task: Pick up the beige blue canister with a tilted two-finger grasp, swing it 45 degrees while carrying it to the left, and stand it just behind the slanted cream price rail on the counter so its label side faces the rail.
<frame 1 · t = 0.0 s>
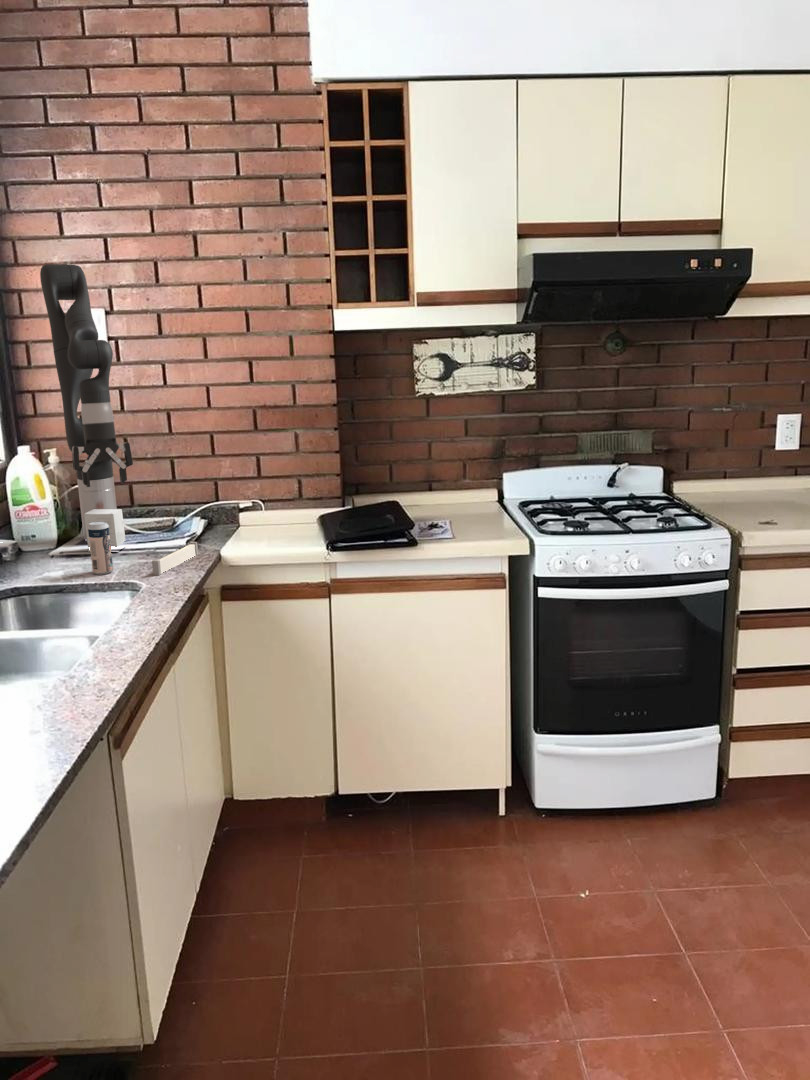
hand: (105, 485, 217), 17 cm above the worktop, tool pointing down, fingers open, 8 cm apart
price rail: (176, 564, 207), on the worktop
small box: (107, 551, 221), on the worktop
beige blue canister: (103, 573, 201), on the worktop
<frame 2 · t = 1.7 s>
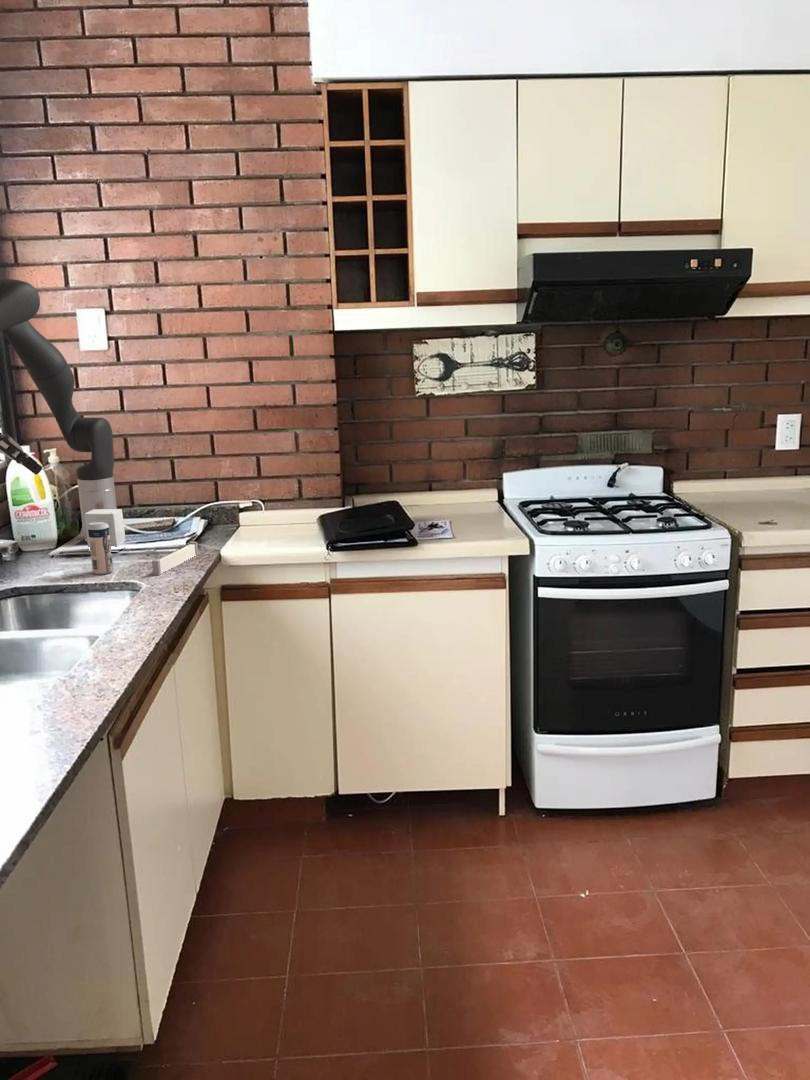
hand: (37, 468, 189), 26 cm above the worktop, tool tilted 45°, fingers open, 8 cm apart
nothing on the worktop moved.
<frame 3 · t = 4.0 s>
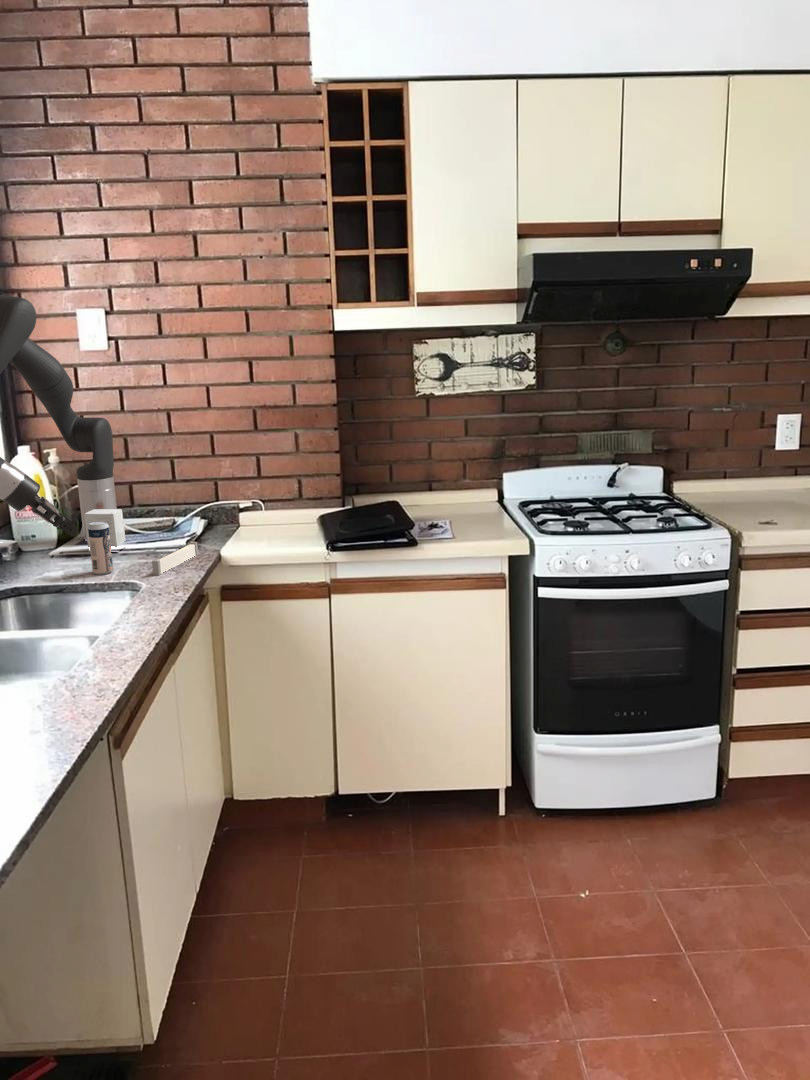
hand: (72, 529, 196), 11 cm above the worktop, tool tilted 45°, fingers open, 8 cm apart
nothing on the worktop moved.
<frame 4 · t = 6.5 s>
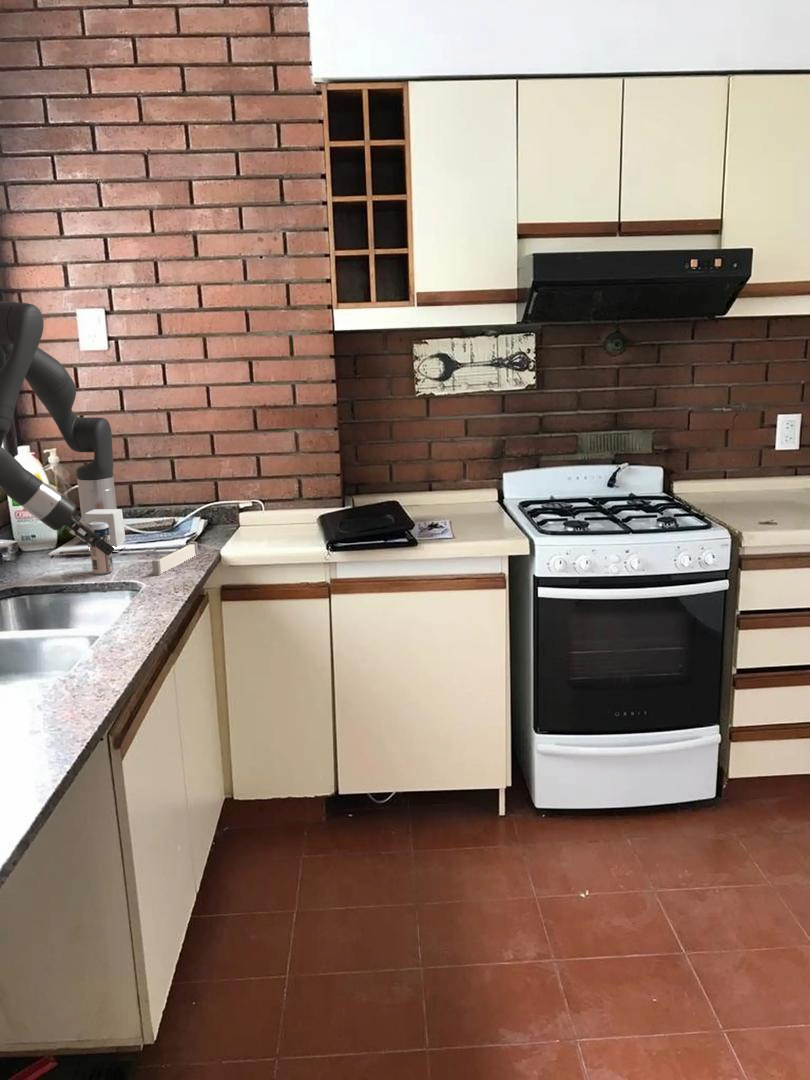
hand: (109, 549, 201), 5 cm above the worktop, tool tilted 45°, fingers closed on beige blue canister, 4 cm apart
beige blue canister: (103, 573, 201), on the worktop, touching gripper
everything else where it was.
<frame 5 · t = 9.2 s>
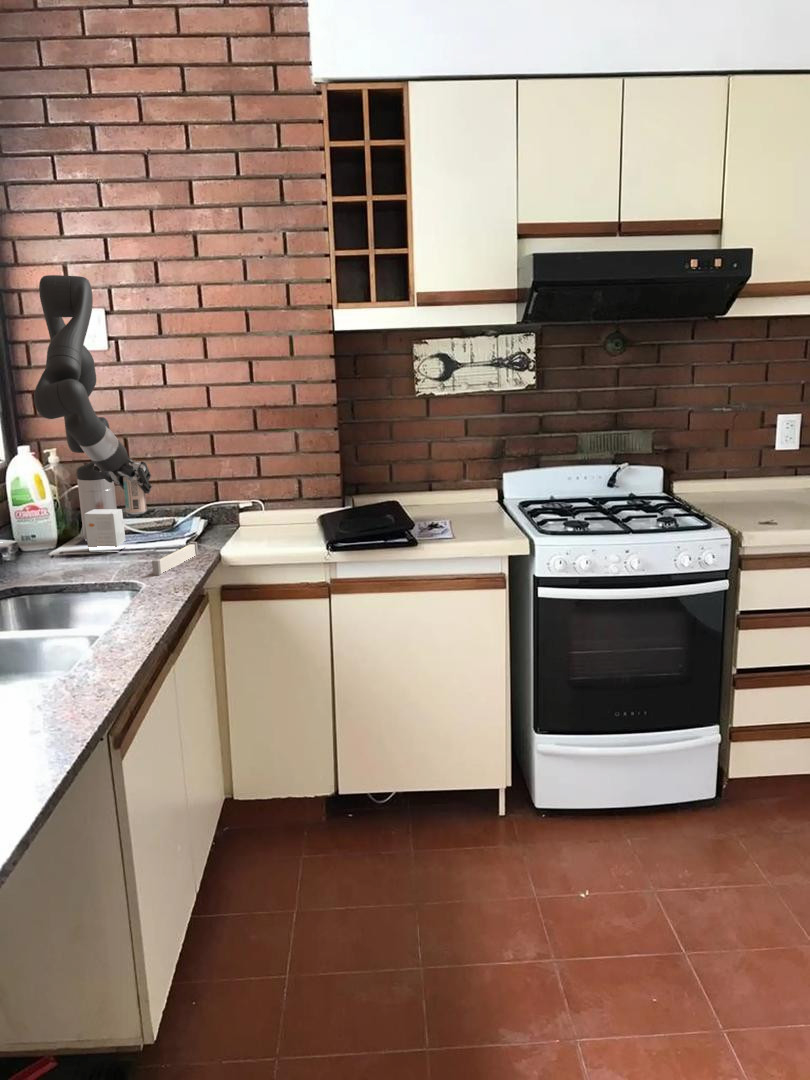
hand: (139, 489, 205), 18 cm above the worktop, tool tilted 45°, fingers closed on beige blue canister, 4 cm apart
beige blue canister: (136, 513, 205), point 12 cm above the worktop, touching gripper
everything else where it was.
when the fingers open (7 cm above the worktop, at t = 11.9 s): beige blue canister drops 1 cm, on the worktop.
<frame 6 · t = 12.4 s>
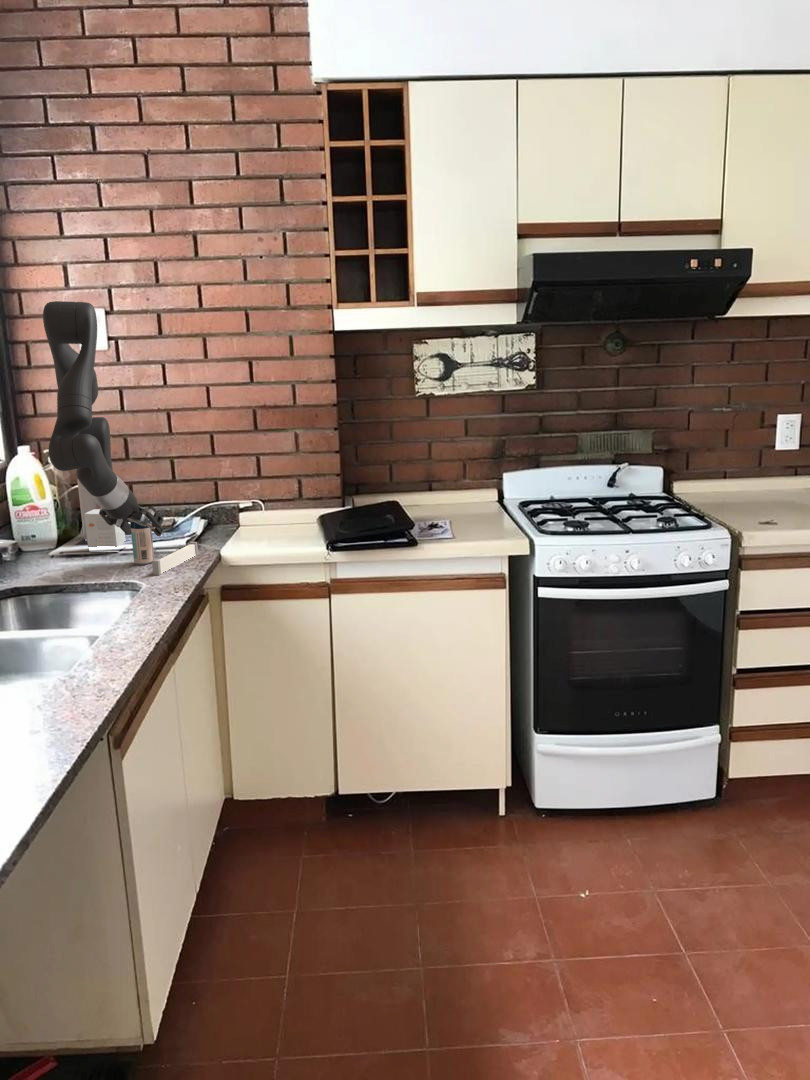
hand: (145, 532, 208), 7 cm above the worktop, tool tilted 45°, fingers open, 8 cm apart
beige blue canister: (144, 563, 209), on the worktop
everything else where it was.
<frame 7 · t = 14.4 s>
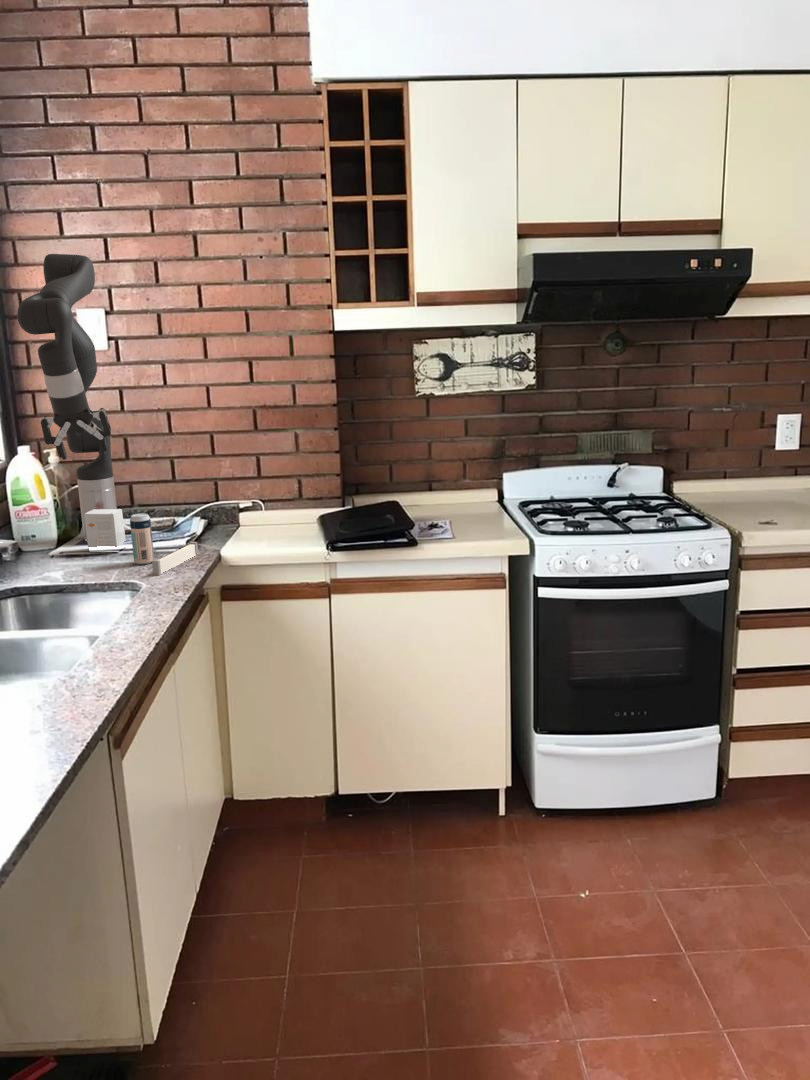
hand: (84, 455, 195), 28 cm above the worktop, tool tilted 20°, fingers open, 8 cm apart
nothing on the worktop moved.
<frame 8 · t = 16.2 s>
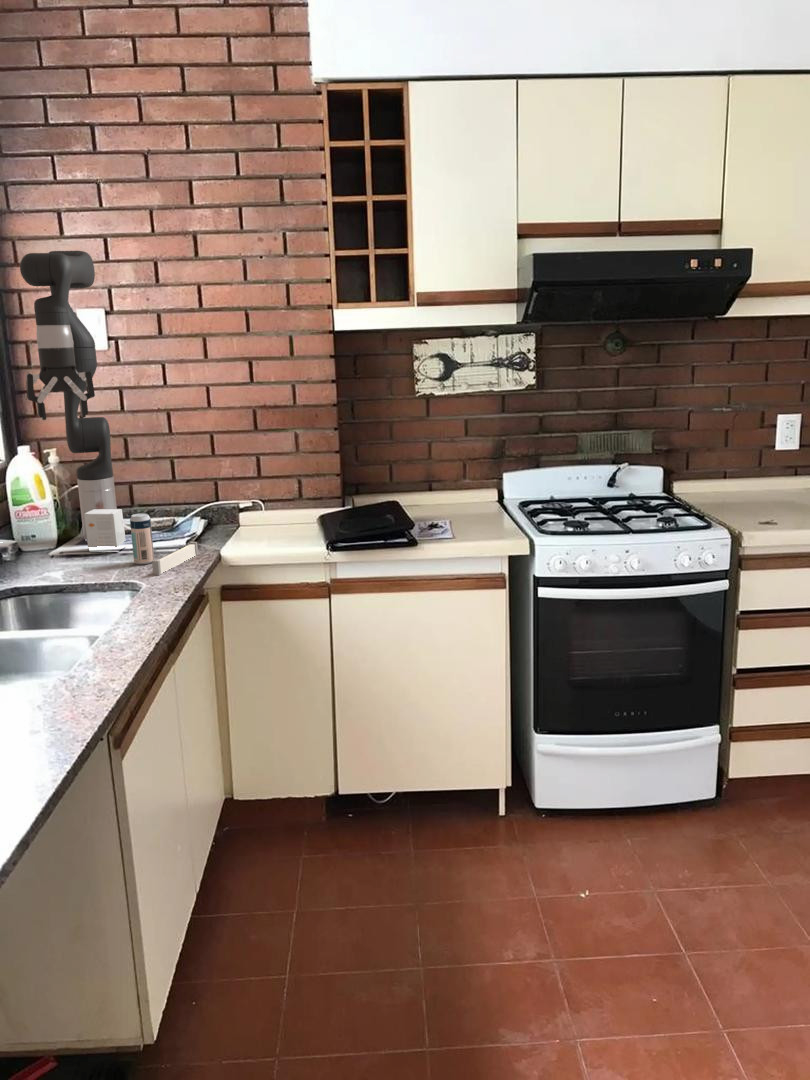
hand: (63, 418, 195), 36 cm above the worktop, tool pointing down, fingers open, 8 cm apart
nothing on the worktop moved.
at the end: beige blue canister inside the target area (0.1 cm from its centre), on the worktop; beige blue canister tilted 0°; the gripper is holding nothing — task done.
